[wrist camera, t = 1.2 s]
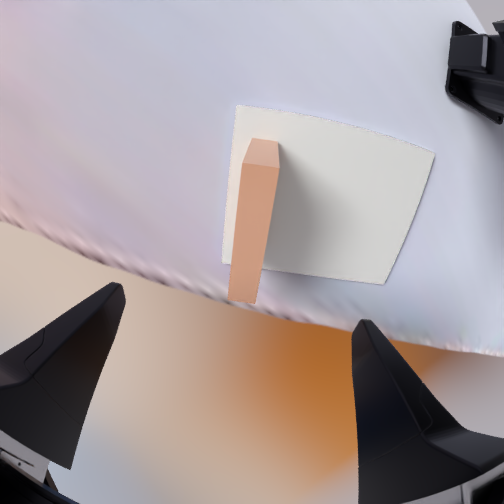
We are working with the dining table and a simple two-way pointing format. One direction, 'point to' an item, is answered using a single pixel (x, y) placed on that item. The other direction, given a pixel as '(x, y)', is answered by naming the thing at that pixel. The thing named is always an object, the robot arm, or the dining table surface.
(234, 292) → the tile
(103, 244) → the dining table surface
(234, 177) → the mat
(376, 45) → the dining table surface
